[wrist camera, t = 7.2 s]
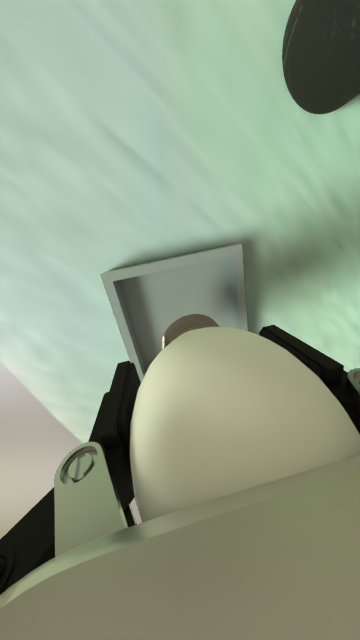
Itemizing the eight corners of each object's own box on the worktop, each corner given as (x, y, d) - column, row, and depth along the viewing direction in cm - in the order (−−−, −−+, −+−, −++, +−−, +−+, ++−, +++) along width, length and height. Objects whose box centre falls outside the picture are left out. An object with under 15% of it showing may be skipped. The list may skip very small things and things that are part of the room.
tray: (229, 245, 17) (242, 243, 14) (238, 349, 21) (249, 362, 18) (108, 270, 16) (100, 274, 14) (141, 373, 20) (140, 390, 18)
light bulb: (217, 275, 12) (716, 446, 1) (247, 357, 14) (502, 635, 4) (121, 322, 12) (-83, 798, 1) (167, 395, 14) (210, 762, 4)
